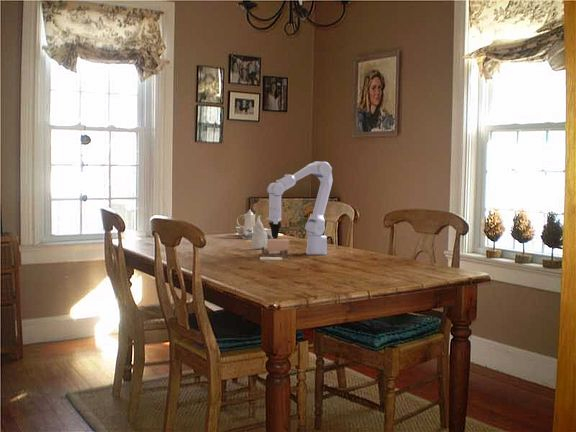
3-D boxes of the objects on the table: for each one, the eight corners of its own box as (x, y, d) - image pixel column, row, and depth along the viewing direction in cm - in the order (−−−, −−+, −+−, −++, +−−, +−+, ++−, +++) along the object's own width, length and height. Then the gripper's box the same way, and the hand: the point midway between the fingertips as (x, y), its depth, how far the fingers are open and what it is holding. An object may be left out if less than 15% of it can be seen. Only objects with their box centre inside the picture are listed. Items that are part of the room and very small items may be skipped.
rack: (286, 254, 327) (286, 247, 327) (287, 257, 318) (288, 250, 318) (261, 254, 326) (261, 247, 326) (261, 257, 317) (261, 249, 317)
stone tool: (252, 250, 339) (252, 219, 338) (250, 249, 342) (250, 219, 341) (268, 249, 342) (269, 219, 341) (266, 248, 345) (267, 218, 344)
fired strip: (282, 260, 314) (282, 257, 314) (281, 261, 310) (282, 258, 310) (260, 259, 314) (260, 256, 314) (259, 260, 311) (259, 258, 311)
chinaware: (281, 240, 389) (282, 211, 389) (268, 241, 373) (269, 210, 373) (237, 237, 400) (238, 209, 400) (222, 237, 385) (224, 208, 385)
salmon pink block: (288, 250, 323) (288, 239, 323) (289, 251, 320) (289, 240, 319) (267, 250, 323) (267, 239, 322) (267, 251, 319) (267, 240, 319)
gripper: (266, 207, 327) (265, 235, 328) (267, 210, 313) (266, 239, 314) (280, 207, 328) (280, 236, 329) (282, 210, 313) (282, 239, 315)
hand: (274, 237), depth 322 cm, fingers open, 3 cm apart
